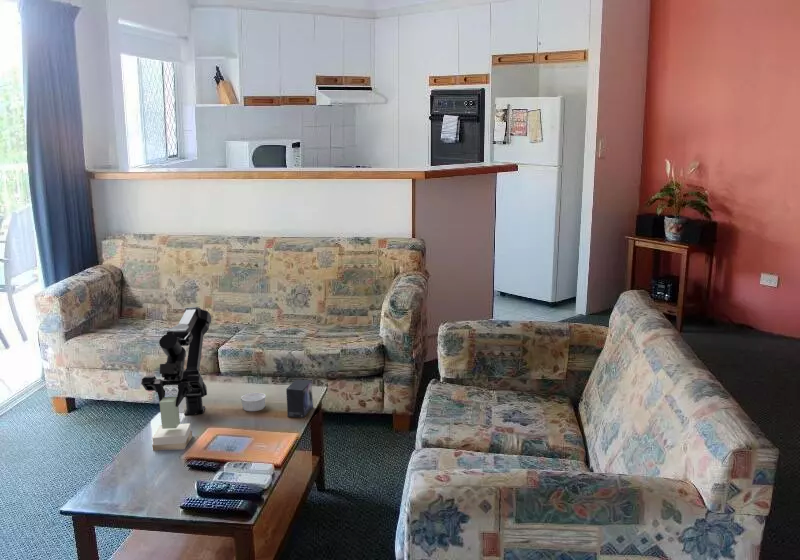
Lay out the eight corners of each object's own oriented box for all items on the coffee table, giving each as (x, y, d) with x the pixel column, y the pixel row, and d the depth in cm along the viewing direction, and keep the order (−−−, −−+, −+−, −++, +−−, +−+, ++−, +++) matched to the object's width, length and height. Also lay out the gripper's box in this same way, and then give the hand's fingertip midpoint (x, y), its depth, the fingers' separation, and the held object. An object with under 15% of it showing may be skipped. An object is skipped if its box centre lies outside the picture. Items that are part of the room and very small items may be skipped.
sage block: (166, 423, 244) (163, 397, 243) (180, 422, 244) (177, 396, 243) (162, 428, 240) (159, 402, 238) (176, 428, 240) (173, 401, 238)
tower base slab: (162, 438, 248) (161, 431, 248) (192, 437, 248) (191, 430, 248) (153, 451, 239) (152, 444, 238) (184, 450, 239) (183, 443, 238)
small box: (304, 418, 261) (302, 389, 258) (286, 417, 262) (285, 389, 260) (314, 407, 271) (312, 379, 269) (297, 406, 272) (295, 378, 270)
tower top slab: (160, 432, 247) (159, 425, 247) (190, 430, 248) (190, 423, 248) (153, 445, 238) (152, 437, 237) (185, 443, 238) (184, 435, 238)
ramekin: (271, 405, 274) (270, 394, 273) (254, 413, 266) (253, 402, 265) (253, 401, 278) (252, 390, 277) (236, 409, 271) (235, 398, 270)
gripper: (139, 353, 242) (132, 397, 234) (197, 351, 242) (191, 395, 234) (150, 368, 252) (142, 411, 243) (205, 366, 252) (200, 409, 243)
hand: (169, 406), depth 241 cm, fingers closed on sage block, 4 cm apart
